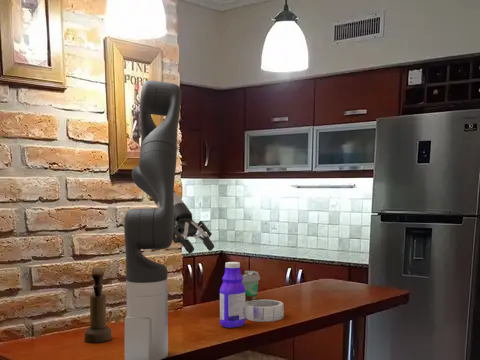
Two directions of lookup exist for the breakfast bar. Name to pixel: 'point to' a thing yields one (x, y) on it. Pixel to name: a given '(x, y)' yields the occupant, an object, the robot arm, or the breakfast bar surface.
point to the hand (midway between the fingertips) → (202, 250)
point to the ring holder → (264, 310)
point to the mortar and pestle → (98, 312)
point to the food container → (250, 285)
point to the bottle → (232, 297)
